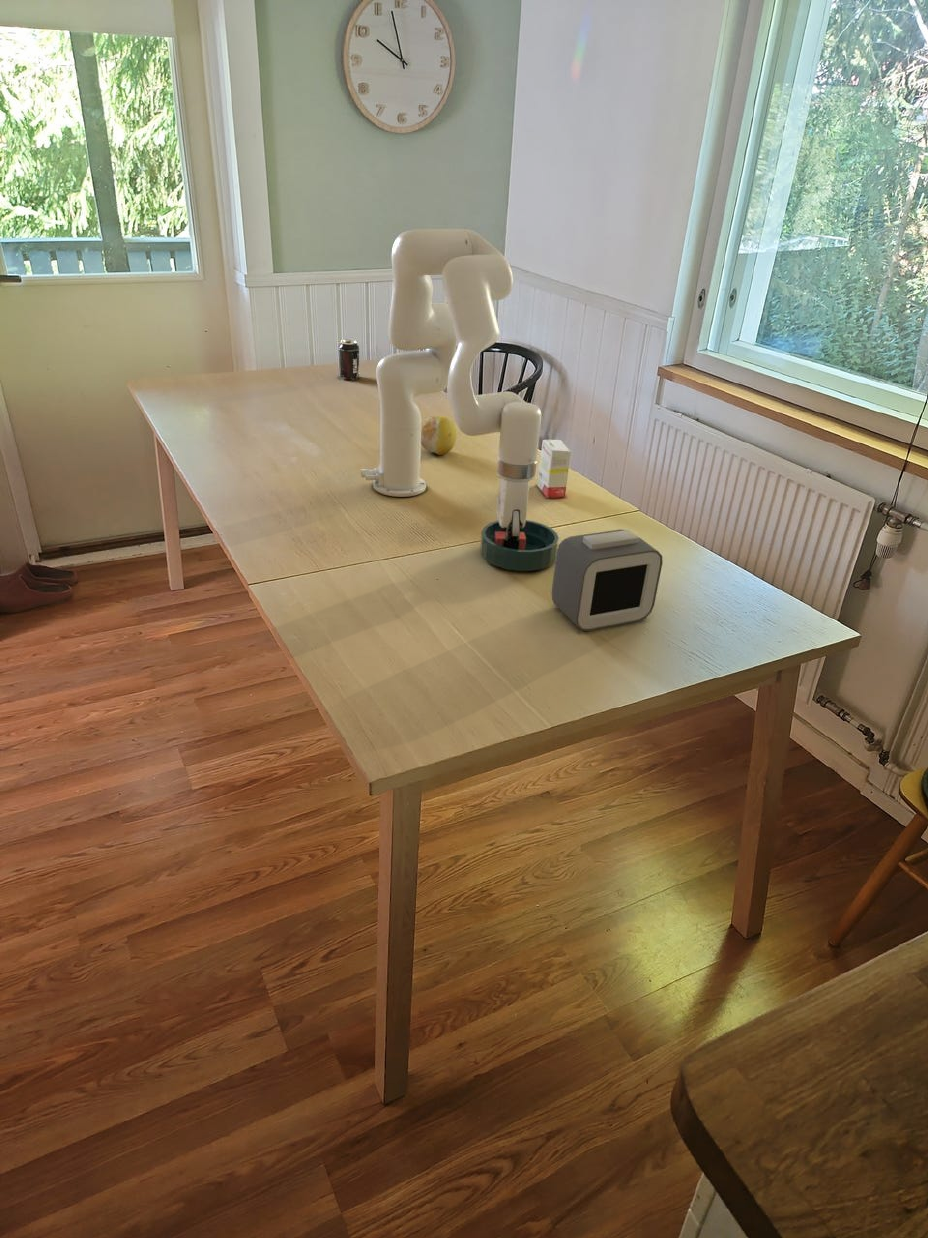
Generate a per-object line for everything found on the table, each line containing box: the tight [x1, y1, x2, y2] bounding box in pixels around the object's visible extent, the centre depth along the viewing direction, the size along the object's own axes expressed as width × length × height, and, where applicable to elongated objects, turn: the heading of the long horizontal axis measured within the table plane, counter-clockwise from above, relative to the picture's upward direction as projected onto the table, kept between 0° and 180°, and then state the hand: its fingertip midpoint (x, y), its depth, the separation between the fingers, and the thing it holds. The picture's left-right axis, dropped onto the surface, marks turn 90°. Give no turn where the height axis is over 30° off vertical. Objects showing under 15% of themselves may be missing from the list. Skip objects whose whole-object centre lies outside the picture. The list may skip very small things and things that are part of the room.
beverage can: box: [337, 339, 360, 381], centre depth 279 cm, size 7×7×12 cm
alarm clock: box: [550, 529, 663, 632], centre depth 152 cm, size 16×11×16 cm
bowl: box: [479, 519, 560, 572], centre depth 172 cm, size 16×16×5 cm
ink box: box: [536, 439, 572, 499], centre depth 202 cm, size 9×5×12 cm, turn 12°
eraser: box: [494, 531, 526, 550], centre depth 172 cm, size 6×3×4 cm, turn 94°
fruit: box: [421, 415, 458, 455], centre depth 221 cm, size 10×11×10 cm
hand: (508, 551), depth 172 cm, fingers closed on eraser, 3 cm apart
